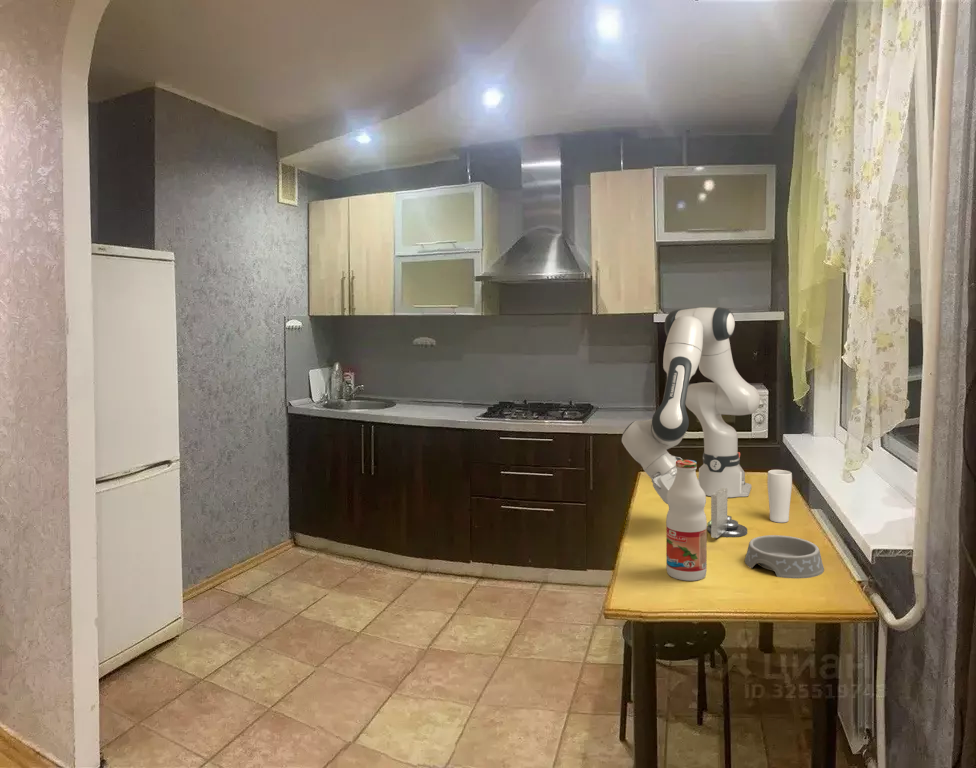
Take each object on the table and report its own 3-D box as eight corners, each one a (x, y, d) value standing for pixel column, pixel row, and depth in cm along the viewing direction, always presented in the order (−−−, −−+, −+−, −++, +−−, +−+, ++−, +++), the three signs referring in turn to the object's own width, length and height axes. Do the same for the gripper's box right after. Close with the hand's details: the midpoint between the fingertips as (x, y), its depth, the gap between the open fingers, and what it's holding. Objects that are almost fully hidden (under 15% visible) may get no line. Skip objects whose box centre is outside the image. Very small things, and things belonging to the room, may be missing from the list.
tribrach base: (714, 523, 203) (714, 515, 203) (752, 529, 197) (752, 521, 197) (701, 533, 195) (701, 525, 194) (740, 539, 188) (740, 531, 188)
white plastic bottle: (715, 577, 162) (715, 462, 159) (683, 584, 158) (683, 467, 155) (688, 564, 170) (688, 456, 168) (658, 571, 167) (657, 460, 164)
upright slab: (720, 522, 200) (720, 482, 199) (740, 525, 196) (741, 485, 195) (703, 535, 188) (703, 493, 187) (725, 539, 185) (725, 496, 184)
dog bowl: (800, 585, 156) (800, 563, 156) (730, 563, 171) (730, 543, 171) (837, 567, 166) (837, 546, 166) (768, 548, 181) (768, 529, 181)
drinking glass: (795, 523, 201) (796, 474, 199) (772, 524, 201) (773, 475, 199) (785, 517, 207) (786, 469, 206) (763, 517, 207) (763, 469, 206)
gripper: (656, 469, 187) (690, 509, 182) (683, 456, 203) (715, 492, 198) (641, 483, 190) (674, 522, 185) (669, 469, 206) (700, 505, 201)
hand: (696, 507), depth 192 cm, fingers closed
